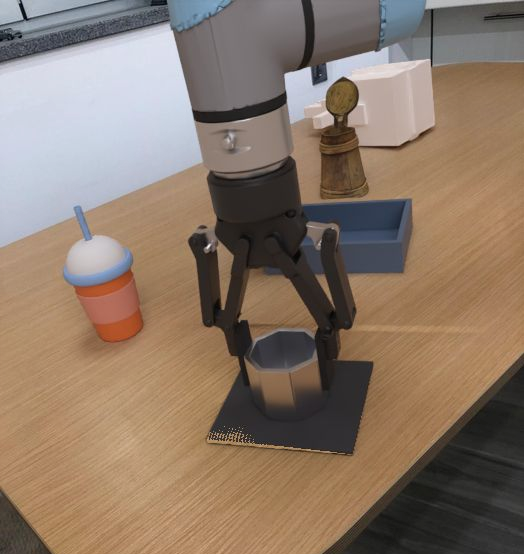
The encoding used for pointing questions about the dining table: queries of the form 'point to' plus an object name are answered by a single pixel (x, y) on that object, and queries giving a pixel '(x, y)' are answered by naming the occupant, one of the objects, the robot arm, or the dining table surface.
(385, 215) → the blue storage box
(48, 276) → the dining table surface
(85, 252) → the cup with straw
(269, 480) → the dining table surface
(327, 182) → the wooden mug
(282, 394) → the octagonal metal cup
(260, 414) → the mat
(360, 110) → the blocky voxel creature
